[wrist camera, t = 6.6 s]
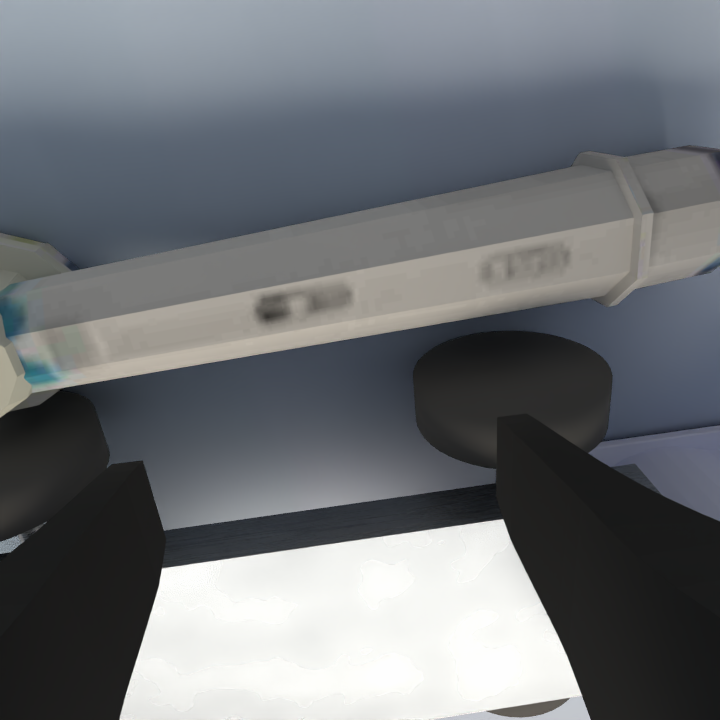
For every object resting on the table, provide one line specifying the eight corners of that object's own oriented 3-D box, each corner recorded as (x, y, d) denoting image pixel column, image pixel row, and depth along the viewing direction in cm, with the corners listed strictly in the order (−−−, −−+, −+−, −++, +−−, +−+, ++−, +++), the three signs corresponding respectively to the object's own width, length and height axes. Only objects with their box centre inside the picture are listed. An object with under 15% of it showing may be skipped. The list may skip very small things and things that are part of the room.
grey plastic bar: (742, 310, 18) (-180, 523, 14) (608, 254, 24) (-66, 394, 20) (773, 123, 15) (-321, 319, 12) (617, 113, 21) (-145, 241, 18)
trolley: (564, 321, 22) (854, 593, 10) (550, 578, 27) (729, 936, 16) (-58, 404, 21) (-480, 796, 9) (60, 651, 26) (-119, 1083, 15)
